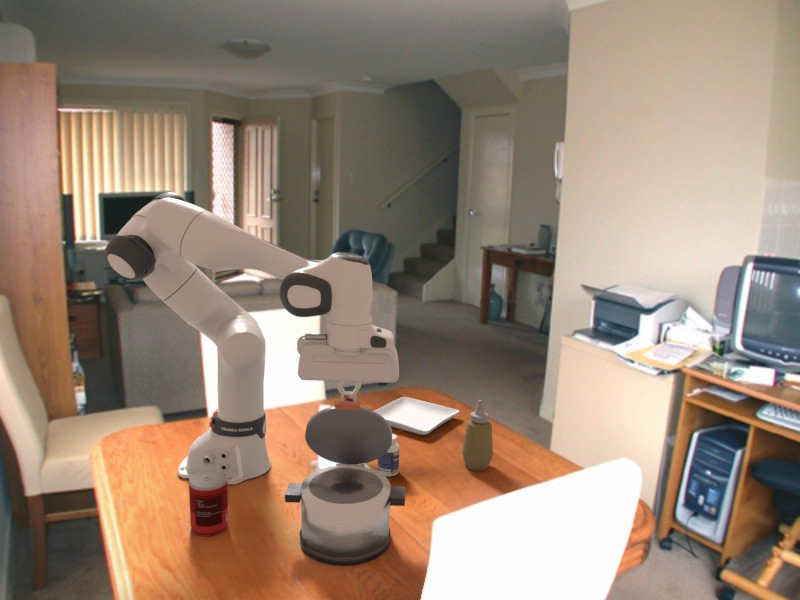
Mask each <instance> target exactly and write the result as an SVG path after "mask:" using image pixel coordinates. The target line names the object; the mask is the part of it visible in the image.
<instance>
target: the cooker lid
mask: <svg viewBox="0 0 800 600" xmlns="http://www.w3.org/2000/svg"><path fill="white" fill-rule="evenodd" d="M374 411H375V410H372V409H369V408H366V407H362V406H361V401H356V402H348V401H341V400H334V406H329V407H326V408H324V409H321V410H319V411H317V412H316V413H315V414H313V415H312V416H311V417H310V418H309V420H308V421H307V424H306V426H305V433H304V434H305V435H304V436H305V437H304V439H305V441H306V445H308V447H309V448H310V450H311V451H312V452H313V453H314V454H315V455H317V456H318V457H320V458H323V459H324V460H327V461H330V462H331V463H336V464H337V463H339V464H367V463H370V462H371V463H372V462H374V461H376V460H378V458H380V457H382V456H383V455H384V454H386V453H387V451H388V450H389V449H390V447H391V444H392V434H393V430H392V427H390V425H389V423H388V422H387V421H386V420H385V419H384V418H383V417H382V416H381V415H379V414H378V413H376V412H374Z"/></svg>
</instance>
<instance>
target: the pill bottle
mask: <svg viewBox="0 0 800 600" xmlns="http://www.w3.org/2000/svg"><path fill="white" fill-rule="evenodd" d="M399 466H400V445H399V444H398V435H396V434H395V433H392V444H391V447H390V449H389V450H388V451H387V453H386V454H384V455H383V456H382V457H380V458H378V459H377V472H379V473H381V474H383V475H384V476H385V477H393V476H397V475H398V473H399V470H400V469H399V468H400V467H399Z"/></svg>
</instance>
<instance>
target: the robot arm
mask: <svg viewBox="0 0 800 600" xmlns="http://www.w3.org/2000/svg"><path fill="white" fill-rule="evenodd" d="M104 256H105V259H106V262H107V263H108V264H109V266H110V268H111V269H112V270H114V272H115V273H117V274H118V275H120V276H121V277H123V278H125V279H127V280H130V281H140V280H142V281H144V283H145V284H146V286H148V288H149V289H150V290H151V291H152V293H153V294H155V296H157V297H158V298H159V299H160V300H161V301H162V302H163V303H164V304H165V305H166V306H167V307H169V309H171V310H172V311H173V312H174V313H176V315H177V316H178V317H180V318H181V319H182V320H183V321H184V322H186V324H187V325H188V326H191V327H193V329H196V330H197V331H198V332H200V333H201V334H203V335H204V336H205V337H207V338H208V339H209V340H211V342H212V343H214V344H215V346H216V349H217V352H216V353H217V409H215V410H214V412H212V416H211V417H210V420H209V424H208V425H209V426H208V427H209V428H210V429H208V430H206V432H203V434H201V435H200V436H198V437H197V438H195V440H194V441H193V442H192V444H191V446H190V448H189V450H188V454H187V456H186V457H184V459H182V461H181V462H180V464H179V466H178V468H177V475H178V477H179V476H180V477H182V478H181V479H187V478H188V480H189V479H190V478H191V477H192V476H193V475H195V474H197V473H199V472H203V471H219V472H222V473H224V474H225V475H226V476H227V485H237V484H241V483H242V482H244V481H246V480H250V479H254V478H257V477H260V476H262V475H263V474H265V473H267V472H268V471H269V470H270V469H271V468H272V467H271V466H272V462H271V460H270V457H269V453H268V449H267V442H266V434H267V419H266V412H265V411H264V410H265V404H264V401H265V399H264V380H265V379H264V378H265V370H266V369H265V367H266V366H265V365H266V340H265V336H264V334H263V332H262V330H261V328H260V325H259V323H258V322H257V320H256V319H255V317H253V316H252V315H251V314H250V313H249V312H248V311H246V310H245V309H244V308H243V307H242V306H241V305H240V304H239V303H237V302H236V301H235V300H234V299H233V298H232V297H230V295H228V294H227V293H225V292H224V291H223V290H222V289H221V288H220V287H219V286H217V284H215V283H214V282H213V281H212V280H211V279H210V277H208V276H207V275H206V274H205V273H204V272H203V271H202V270H200V268H199V267H201V268H203V269H207V270H210V271H211V270H212V271H218V272H219V271H229V270H230V271H231V270H233V271H234V270H254V271H258V272H263V273H266V274H268V275H270V276H272V277H274V278H277V279H279V280H281V284H280V286H279V298H280V302H281V305H282V306H283V308H284V309H285V310H286V311H287V312H288V313H289V314H291V315H292V316H294V317H299V318H309V317H311V318H312V317H318V316H326V325H327V327H326V330H327V332H326V333H318V334H316V333H315V334H313V333H305V334H304V335H302V336H300V337H299V338H298V339H297V342H296V351H297V353H298V354H299V358H298V367H297V376H298V377H299V378H300V380H302V381H320V382H321V381H324V382H335V387H336V389H337V390H338V392H339V394H340V401H348V402H357V395H358V393H359V390H360V389H361V387H362V383H385V384H386V383H387V384H388V383H389V384H390V383H392V384H394V383H397V381H398V380H399V378H400V367H399V363H400V362H399V356H398V351H397V348H396V346H395V344H394V342H395V341H394V340H395V338H394V333H393V331H391V330H388V329H386V328H383V327H380V326H377V325H375V324H373V317H372V314H371V306H372V303H373V275H372V268H371V265H370V262H369V261H368V260H367V258H365V257H363V256H361V255H359V254H355V253H351V252H345V251H342V252H341V251H340V252H334V253H332V254H331V255H330V256H328V257H327V258H325V259H310V258H308V257H304V256H302V255H300V254H297V253H295V252H293V251H290V250H288V249H285V248H284V247H281V246H279V245H278V244H274V243H272V242H270V241H267V240H265V239H262V238H260V237H259V236H257V235H254V234H253V233H251V232H249V231H247V230H245V229H243V228H241V227H239V226H237V225H236V224H233V223H232V222H230V221H228V220H226V219H224V218H223V217H221V216H219V215H218V214H216V213H213V212H211V211H209V210H207V209H205V208H203V207H201V206H198V205H196V204H194V203H191V202H190V201H188V200H187V199H186V198H185V197H183V196H182V195H179V194H178V193H175V192H171V191H166V192H165V191H164V192H163V193H161V194H159V195H157V196H155V197H153V198H151V201H150V202H148V203H147V204H146V205H144V206H143V207H141V209H140V210H138V211H137V212H135V214H133V215H132V216H131V217H130V219H129V220H128V221H127V222H126V223H125V225H124V226H122V228H121V229H120V230H119V232H118V233H117V234H116V235H114V236H112V238H111V239H109V241H108V243H107V245H106V247H105V249H104ZM345 382H353V387H354V389H353V391H349V390H348V391H347V390H345V388H344V386H343V385H344V383H345ZM180 477H179V478H180Z"/></svg>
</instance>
